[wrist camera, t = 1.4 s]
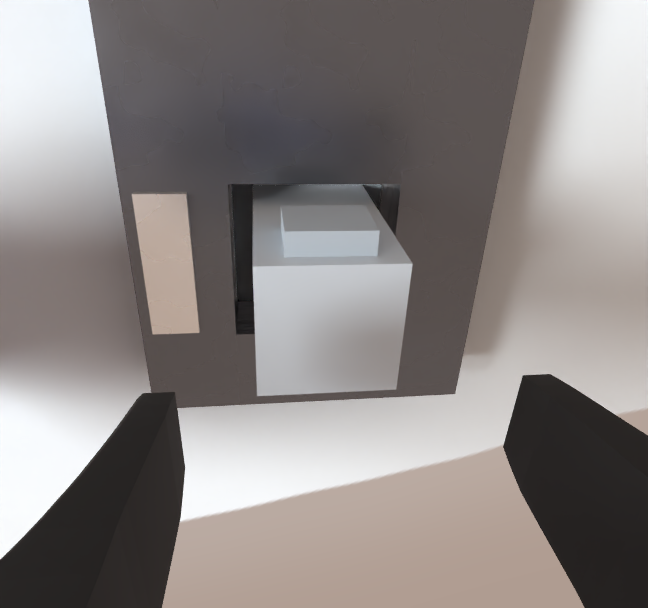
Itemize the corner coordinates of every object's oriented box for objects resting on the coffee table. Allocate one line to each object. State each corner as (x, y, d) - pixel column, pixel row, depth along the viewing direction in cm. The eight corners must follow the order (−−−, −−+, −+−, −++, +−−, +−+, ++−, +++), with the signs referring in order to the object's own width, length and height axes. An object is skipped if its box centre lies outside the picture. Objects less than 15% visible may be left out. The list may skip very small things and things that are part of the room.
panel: (164, 370, 22) (153, 412, 20) (25, -607, 10) (-42, -791, 8) (436, 358, 23) (456, 397, 21) (584, -508, 12) (668, -638, 9)
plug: (255, 283, 20) (256, 396, 14) (252, 165, 18) (251, 239, 12) (354, 281, 21) (396, 389, 15) (363, 165, 19) (415, 237, 13)
